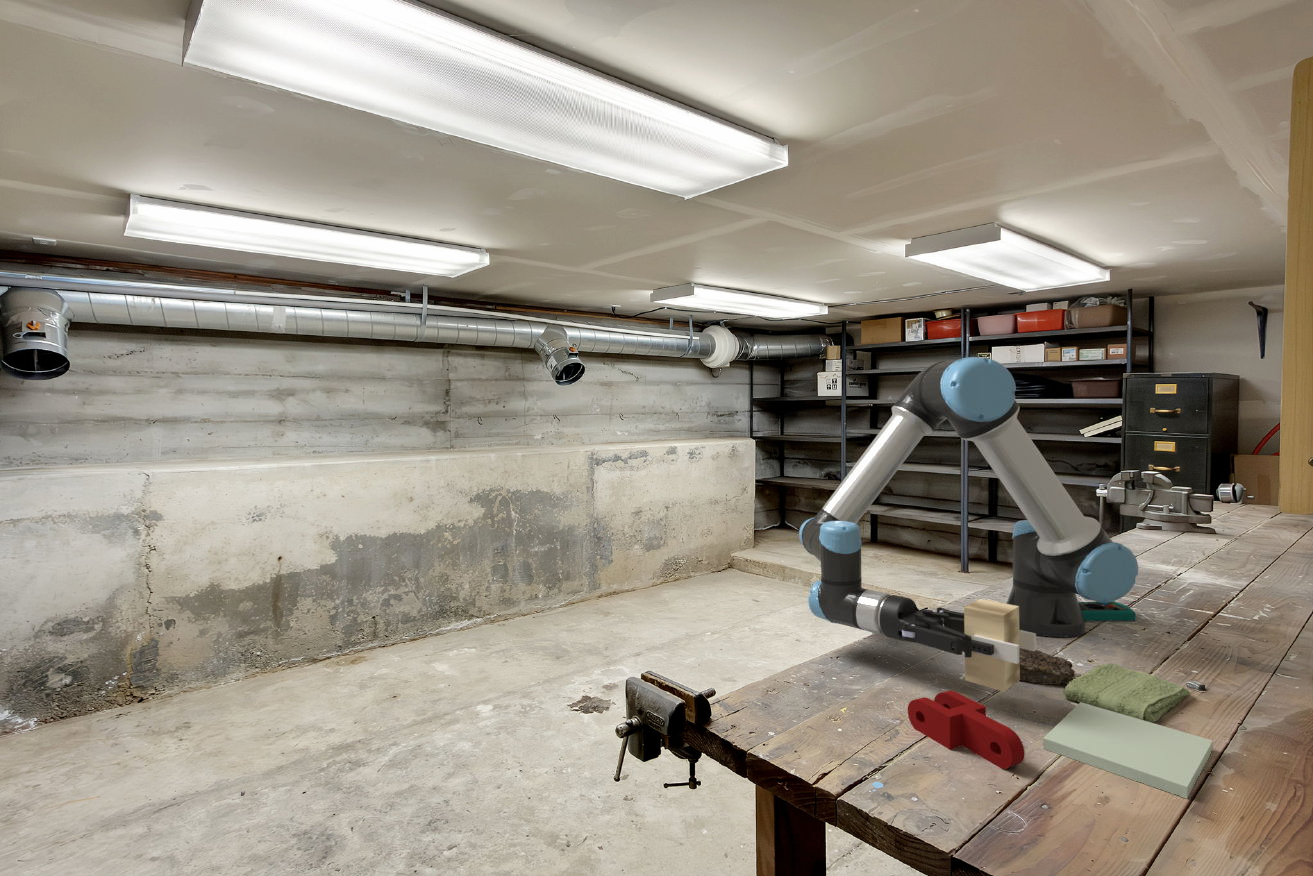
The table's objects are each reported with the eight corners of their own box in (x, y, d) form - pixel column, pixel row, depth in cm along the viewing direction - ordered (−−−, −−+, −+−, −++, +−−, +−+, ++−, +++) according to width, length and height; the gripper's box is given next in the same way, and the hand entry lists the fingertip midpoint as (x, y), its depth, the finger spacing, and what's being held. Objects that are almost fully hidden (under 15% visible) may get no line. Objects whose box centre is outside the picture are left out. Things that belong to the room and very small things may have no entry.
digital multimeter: (1138, 623, 142) (1139, 609, 142) (1069, 623, 143) (1069, 610, 143) (1116, 612, 150) (1116, 599, 149) (1050, 612, 150) (1050, 600, 150)
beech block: (981, 669, 109) (980, 598, 108) (1019, 679, 104) (1019, 606, 103) (965, 680, 105) (964, 607, 104) (1004, 691, 100) (1003, 615, 100)
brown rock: (991, 676, 116) (991, 649, 116) (1009, 660, 123) (1009, 633, 123) (1064, 696, 108) (1065, 666, 108) (1080, 677, 115) (1080, 649, 115)
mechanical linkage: (907, 726, 99) (907, 694, 99) (942, 716, 102) (942, 685, 102) (999, 780, 85) (999, 743, 85) (1036, 767, 88) (1037, 731, 87)
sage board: (1080, 711, 102) (1080, 702, 102) (1212, 751, 90) (1212, 740, 90) (1043, 748, 92) (1043, 738, 92) (1186, 798, 80) (1187, 787, 80)
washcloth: (1194, 699, 106) (1194, 680, 106) (1150, 732, 96) (1150, 711, 96) (1103, 673, 117) (1104, 655, 117) (1055, 700, 107) (1056, 681, 107)
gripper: (914, 622, 124) (1049, 654, 107) (860, 650, 112) (1001, 691, 94) (914, 583, 124) (1048, 609, 106) (858, 607, 111) (1001, 641, 94)
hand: (1026, 648), depth 100 cm, fingers closed on beech block, 6 cm apart
